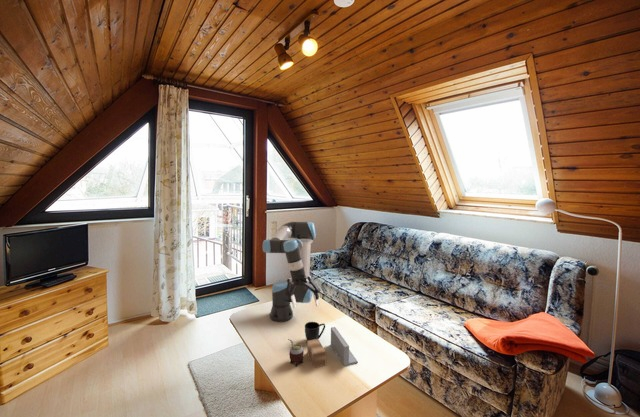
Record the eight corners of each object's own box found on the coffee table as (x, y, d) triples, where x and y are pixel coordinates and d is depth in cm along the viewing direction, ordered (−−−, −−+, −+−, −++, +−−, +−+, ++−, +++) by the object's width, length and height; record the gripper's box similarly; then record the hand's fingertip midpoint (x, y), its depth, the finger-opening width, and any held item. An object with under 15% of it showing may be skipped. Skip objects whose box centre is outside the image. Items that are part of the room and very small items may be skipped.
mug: (327, 342, 161) (327, 326, 160) (307, 346, 157) (307, 330, 156) (322, 334, 169) (322, 319, 168) (302, 338, 165) (302, 323, 163)
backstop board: (330, 344, 159) (330, 327, 158) (342, 342, 161) (343, 325, 160) (344, 366, 141) (344, 346, 140) (357, 363, 143) (357, 344, 142)
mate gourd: (303, 358, 147) (303, 330, 146) (303, 368, 139) (303, 339, 138) (289, 358, 147) (288, 330, 145) (287, 368, 139) (287, 339, 138)
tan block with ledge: (306, 353, 151) (306, 340, 150) (318, 351, 153) (318, 338, 152) (313, 367, 140) (313, 354, 139) (325, 365, 142) (325, 351, 141)
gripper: (273, 273, 155) (283, 310, 156) (315, 268, 145) (325, 307, 147) (280, 268, 162) (289, 304, 163) (320, 263, 152) (329, 301, 154)
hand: (306, 306), depth 155 cm, fingers open, 13 cm apart
